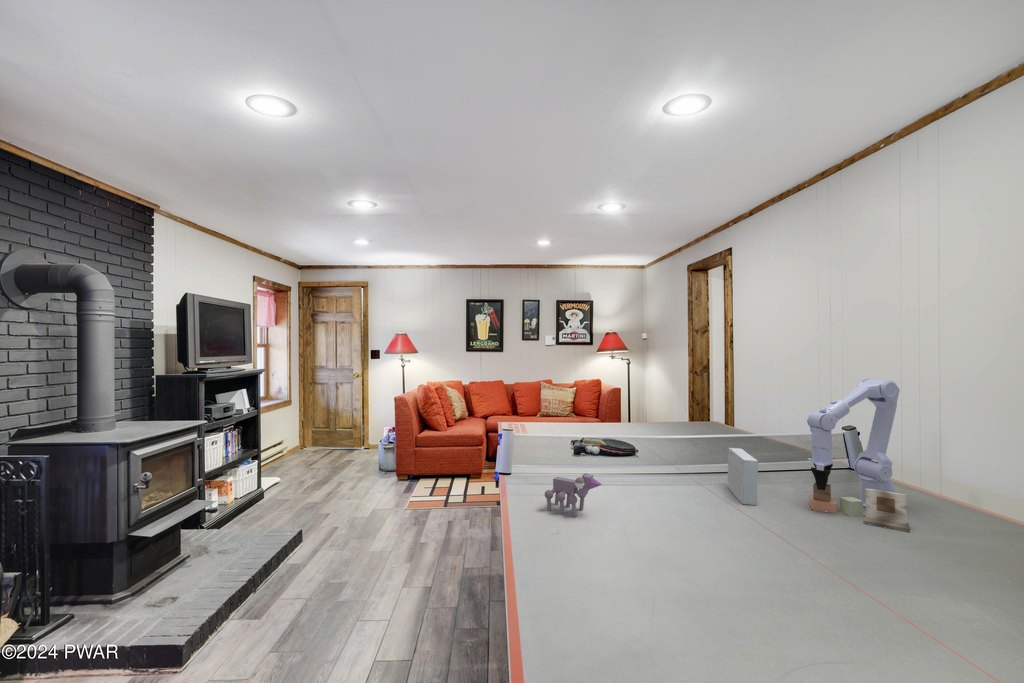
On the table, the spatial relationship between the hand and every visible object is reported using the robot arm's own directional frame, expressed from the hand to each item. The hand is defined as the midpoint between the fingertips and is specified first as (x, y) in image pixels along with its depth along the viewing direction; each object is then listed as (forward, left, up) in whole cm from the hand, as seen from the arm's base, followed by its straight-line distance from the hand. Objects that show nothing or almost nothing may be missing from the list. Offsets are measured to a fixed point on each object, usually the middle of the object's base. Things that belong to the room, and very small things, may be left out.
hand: (822, 486), depth 159 cm
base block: (0, 0, -8) cm, 8 cm away
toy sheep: (+81, +29, -8) cm, 86 cm away
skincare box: (+24, -7, -8) cm, 26 cm away
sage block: (-7, +3, -8) cm, 11 cm away
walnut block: (0, 0, -4) cm, 4 cm away
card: (-14, +11, -8) cm, 19 cm away
